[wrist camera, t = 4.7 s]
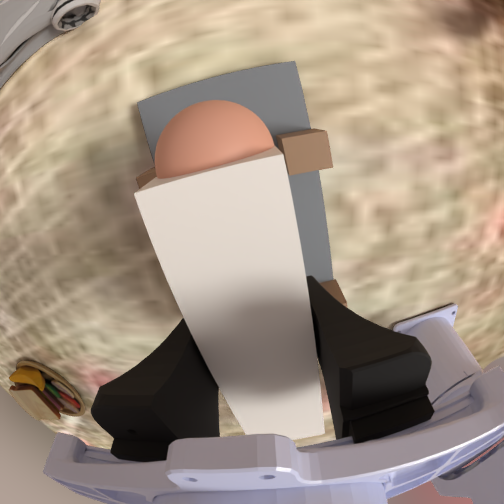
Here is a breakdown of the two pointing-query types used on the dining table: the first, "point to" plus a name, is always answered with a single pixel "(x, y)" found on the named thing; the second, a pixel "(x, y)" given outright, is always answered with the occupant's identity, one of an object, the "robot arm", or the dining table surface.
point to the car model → (36, 27)
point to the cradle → (284, 138)
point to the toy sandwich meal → (44, 392)
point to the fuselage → (237, 264)
